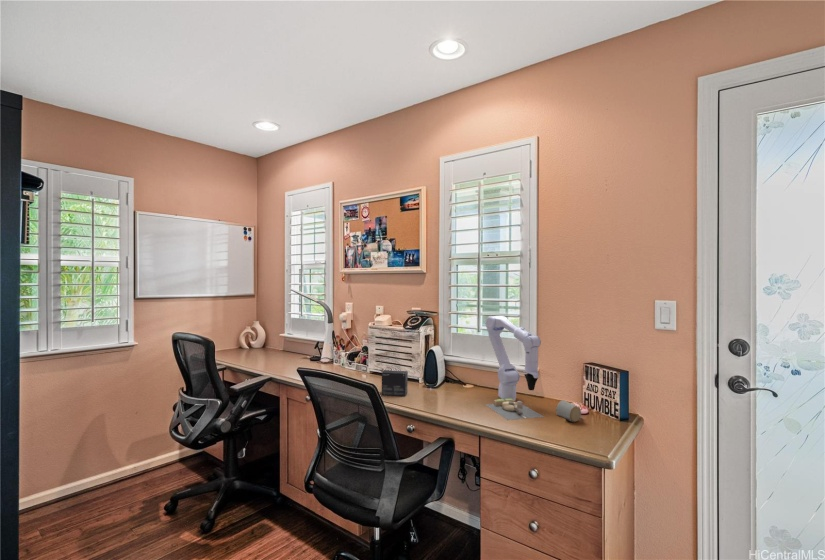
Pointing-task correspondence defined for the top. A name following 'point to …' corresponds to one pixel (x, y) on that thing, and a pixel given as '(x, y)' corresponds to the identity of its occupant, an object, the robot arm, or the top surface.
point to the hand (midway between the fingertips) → (531, 389)
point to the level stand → (512, 414)
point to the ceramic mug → (568, 411)
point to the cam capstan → (513, 406)
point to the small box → (394, 383)
